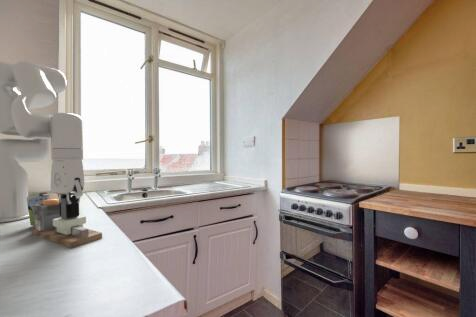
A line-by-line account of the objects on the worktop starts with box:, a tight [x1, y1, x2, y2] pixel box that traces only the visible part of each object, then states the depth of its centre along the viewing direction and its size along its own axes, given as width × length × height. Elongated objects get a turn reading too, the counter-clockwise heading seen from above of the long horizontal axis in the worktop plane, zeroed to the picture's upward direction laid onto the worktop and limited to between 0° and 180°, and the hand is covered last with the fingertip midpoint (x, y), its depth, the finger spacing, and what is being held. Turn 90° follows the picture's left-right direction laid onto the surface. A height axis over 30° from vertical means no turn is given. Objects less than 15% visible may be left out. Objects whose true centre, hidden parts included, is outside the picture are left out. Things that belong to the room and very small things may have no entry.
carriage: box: [53, 198, 87, 235], centre depth 66 cm, size 6×6×10 cm
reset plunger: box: [43, 198, 59, 206], centre depth 72 cm, size 4×4×2 cm
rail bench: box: [30, 203, 103, 249], centre depth 68 cm, size 25×8×9 cm, turn 62°
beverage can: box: [27, 191, 51, 227], centre depth 78 cm, size 6×7×12 cm
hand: (69, 215), depth 66 cm, fingers closed on carriage, 3 cm apart
